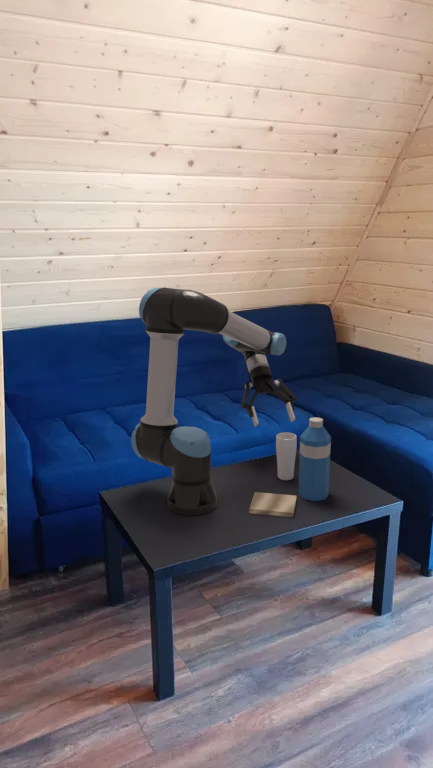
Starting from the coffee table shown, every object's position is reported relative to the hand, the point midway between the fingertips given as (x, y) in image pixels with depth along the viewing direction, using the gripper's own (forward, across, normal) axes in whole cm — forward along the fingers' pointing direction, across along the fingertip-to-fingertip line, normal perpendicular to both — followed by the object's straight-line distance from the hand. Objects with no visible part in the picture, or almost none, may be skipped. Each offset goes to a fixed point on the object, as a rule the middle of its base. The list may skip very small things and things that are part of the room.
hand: (275, 422), depth 201 cm
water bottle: (+29, -3, +6) cm, 29 cm away
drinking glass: (+19, 0, -4) cm, 19 cm away
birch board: (+31, +12, +8) cm, 34 cm away
